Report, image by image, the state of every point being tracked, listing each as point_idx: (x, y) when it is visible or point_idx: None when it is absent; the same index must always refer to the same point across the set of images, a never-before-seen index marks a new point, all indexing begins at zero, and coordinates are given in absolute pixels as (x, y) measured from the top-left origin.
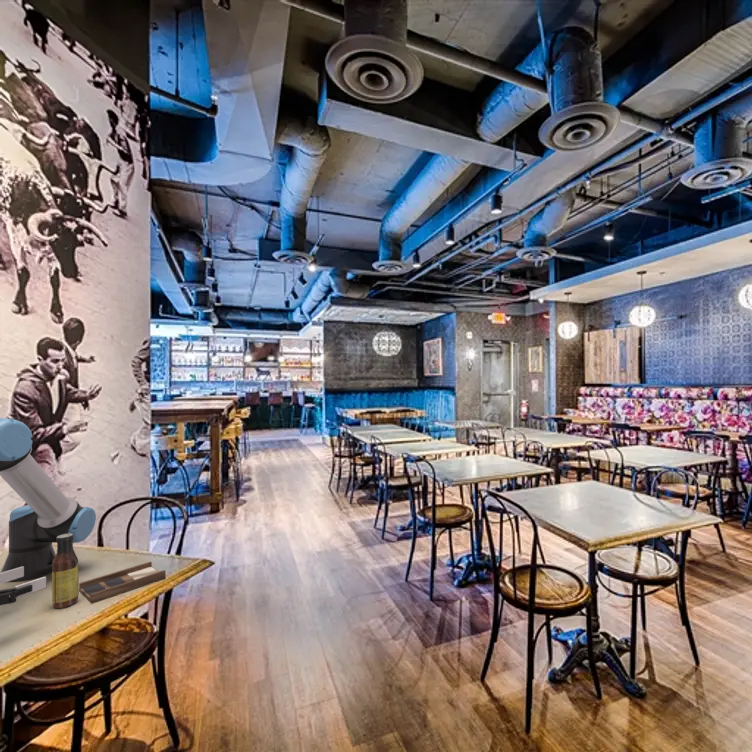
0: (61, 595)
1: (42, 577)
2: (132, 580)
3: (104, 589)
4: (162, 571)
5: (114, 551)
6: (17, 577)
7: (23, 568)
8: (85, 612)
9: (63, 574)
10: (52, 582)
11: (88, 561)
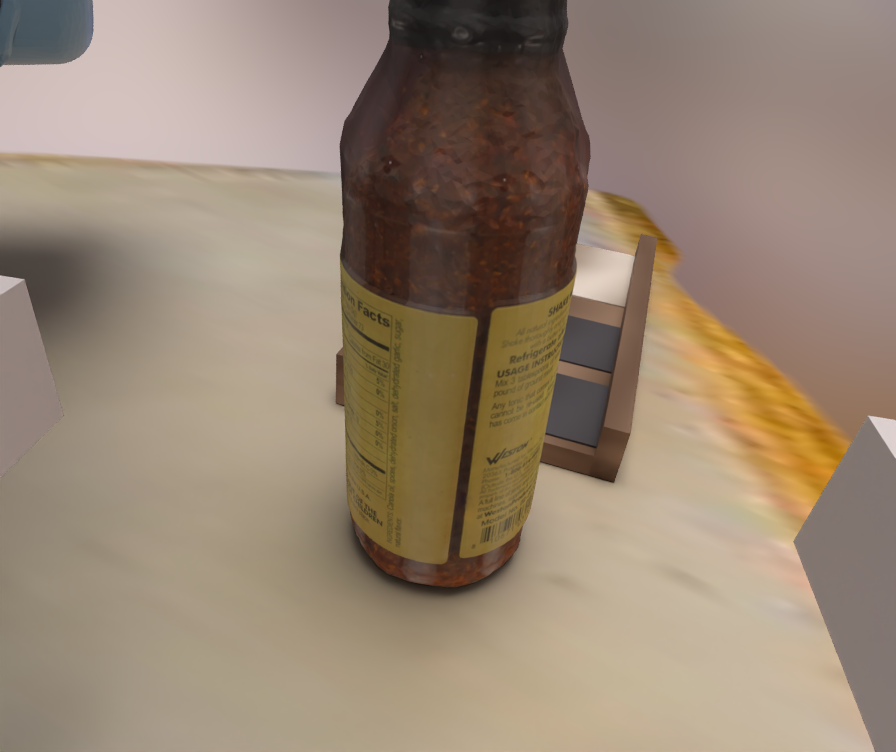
0: (513, 499)
1: (893, 442)
2: (630, 300)
3: (615, 377)
4: (652, 241)
5: (99, 164)
6: (1, 457)
7: (25, 307)
8: (727, 566)
9: (554, 323)
10: (415, 412)
11: (32, 215)
